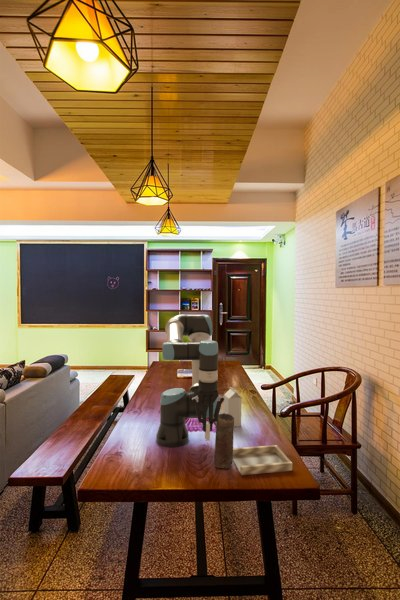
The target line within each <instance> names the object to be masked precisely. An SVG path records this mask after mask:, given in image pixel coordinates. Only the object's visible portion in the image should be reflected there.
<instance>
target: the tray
mask: <svg viewBox="0 0 400 600" xmlns="http://www.w3.org/2000/svg"><path fill="white" fill-rule="evenodd" d="M232 462H233V463H234V465H235V467H236V469H237V471H238V473H239V474H240V476H248V475H249V476H250V475H259V474H268V473H269V474H271V473H279V472H291V471H293V462H292V461H291V459H290V458H289V457H288V456H287V455H286V454H285V453H284V451H282V449H281V448H280V447H279V446H278V445H277V444H273V445H272V444H271V445H258V446H246V447H233V461H232Z"/></svg>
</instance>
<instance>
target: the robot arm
mask: <svg viewBox="0 0 400 600" xmlns="http://www.w3.org/2000/svg"><path fill="white" fill-rule="evenodd" d="M164 330H165V334H166V342H163V343H162V351H161V352H162V355H161V357H162V360H164V361H171V362H173V361H191V374H192V375H191V378H192V379H191V380H192V384H191V386H190V387H189V389H188V390H189V391H186V389H185V388H182V387H174V388H170V389H166V390H164V391H163V392H162V393H161V395H160V401H159V405H160V416H159V417H160V419H159V422H160V424H159V427H158V429H157V432H156V436H155V440H156V443H157V444H158V445H160V446H163V447H168V448H176V447H177V448H178V447H181V446H184V445H185V444H187V443H188V442H189V439H190V438H189V431H188V428H187V425H186V419H195V418H196V419H197V421H198V423H199V424H202V428H201V429H202V431H203V432H204V439H205V441H206V442H207V441H211V432H212V431H213V427H214V426H213V425H214V423H216V422H217V420H218V416H219V414H220V412H221V407H222V404H223V403H224V396H222V395H220V394H219V392H218V383H219V381H218V379H219V378H218V377H219V375H218V374H219V373H218V372H219V369H218V367H219V365H218V364H219V344H218V341H216V340H211V339H210V338H211V336H213V331H214V330H213V322H212V319H211V316H209V314H203V313H200V314H199V313H197V314H193V313H189V314H188V313H181V314H175V316H172V317H171V318H170V319H169V320H168V321H166V323H165V329H164ZM185 336H187V338H188V341H186V342H184V337H185ZM189 341H190V342H189ZM207 420H208V421H207Z"/></svg>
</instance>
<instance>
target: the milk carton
mask: <svg viewBox="0 0 400 600" xmlns="http://www.w3.org/2000/svg"><path fill="white" fill-rule="evenodd" d="M239 394H240V392H239V391H238V390H236V389H235V388H233V387H231V386H230V387H229V390H227V391H226V392H225V393H224V394H223V398H224V401H223V413H224V414H229V415H231V416H232V417H233V418H234V428H235V427H241V426H242V397H241V396H240V395H239Z"/></svg>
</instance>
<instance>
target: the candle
mask: <svg viewBox="0 0 400 600" xmlns="http://www.w3.org/2000/svg"><path fill="white" fill-rule="evenodd" d="M234 428H235V427H234V418H233V417H232V416H231V415H229V414H224V412H223V413H219V416H218V420H217V422H215V438H214V439H215V440H214V458H213V459H214V460H213V465H214V466H215V467H216V468H218V469H229V468H231V467H232V466H233V462H234V461H233V448H234V436H235V435H234V432H235V430H234Z"/></svg>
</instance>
